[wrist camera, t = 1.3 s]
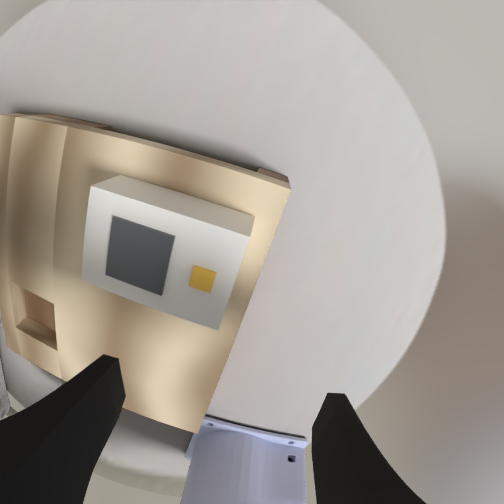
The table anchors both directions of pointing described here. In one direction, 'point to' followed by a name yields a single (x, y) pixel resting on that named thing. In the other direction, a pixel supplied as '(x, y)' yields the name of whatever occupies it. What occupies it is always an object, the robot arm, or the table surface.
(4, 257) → the beige slab with cutout
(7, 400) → the wrench
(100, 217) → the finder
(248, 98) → the table surface
